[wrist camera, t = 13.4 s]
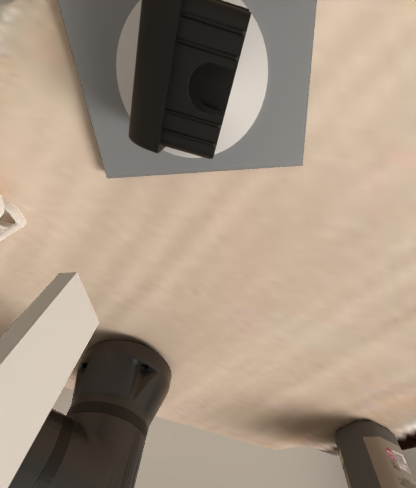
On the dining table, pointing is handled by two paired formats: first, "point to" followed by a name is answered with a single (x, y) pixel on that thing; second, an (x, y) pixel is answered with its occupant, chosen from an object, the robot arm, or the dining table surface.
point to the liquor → (372, 457)
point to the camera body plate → (240, 100)
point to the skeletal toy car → (20, 221)
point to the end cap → (185, 73)
